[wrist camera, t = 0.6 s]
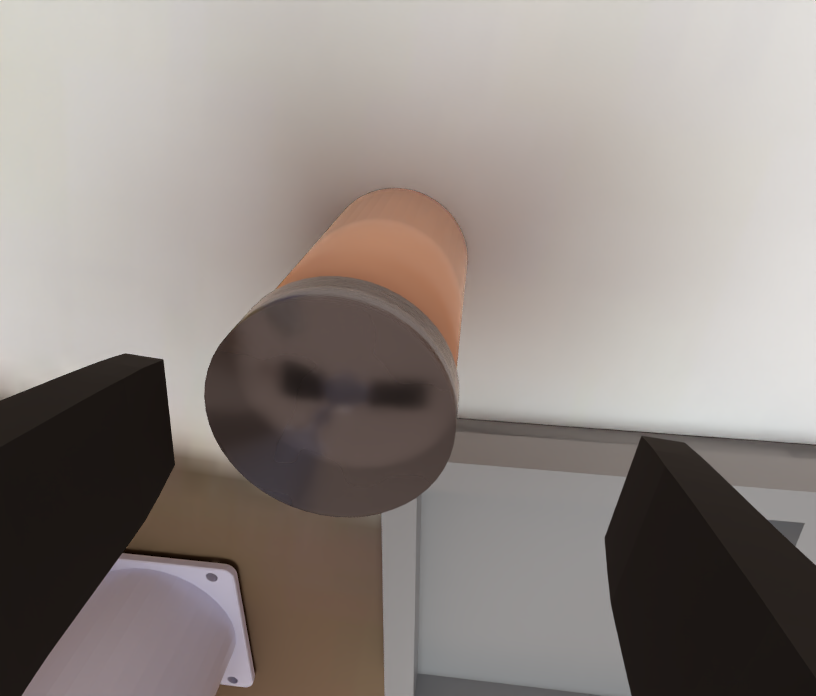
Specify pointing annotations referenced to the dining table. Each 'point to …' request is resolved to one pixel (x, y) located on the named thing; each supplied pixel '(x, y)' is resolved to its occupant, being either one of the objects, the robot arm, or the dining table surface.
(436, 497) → the tray
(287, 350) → the shaker
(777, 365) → the dining table surface
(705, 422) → the dining table surface
